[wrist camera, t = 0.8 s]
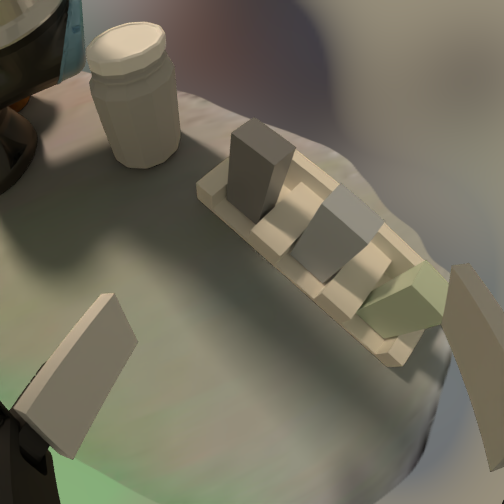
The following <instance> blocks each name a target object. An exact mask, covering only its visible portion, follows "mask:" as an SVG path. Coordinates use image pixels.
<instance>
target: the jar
mask: <svg viewBox="0 0 504 504" xmlns="http://www.w3.org/2000/svg"><path fill="white" fill-rule="evenodd" d="M165 48H166V37H165V32H164V31H163V29H162V28H161V26H160V25H156V24H152V23H149V22H133V23H126V24H123V25H120V26H116V27H113V28H111V29H108V30H107V31H105V32H103V33H102V34H100V35H98V36H97V37H95V38H94V39H93V40H92V42H91V43H90V44H89V45H88V47H87V48H86V49H85V51H86V57H87V61H88V64H89V67H90V71H91V73H92V78H91V80H90V82H89V84H90V90H91V95H92V98H93V100H94V103H95V106H96V109H97V112H98V114H99V117H100V120H101V122H102V125H103V128H104V130H105V133H106V136H107V138H108V141H109V143H110V146H111V148H112V151H113V153H114V156H115V158H116V160H118V161H119V162H121V163H122V164H123V165H125V166H126V167H128V168H144V169H147V168H150V167H153V166H155V165H158V164H160V163H163V162H165V161H166V160H167V159H168V158H169V157H170V156H171V155H172V154H173V153H174V152H175V151H176V150H177V149H178V145H179V141H180V137H181V130H180V121H179V111H178V101H177V90H176V79H175V67H174V65H173V63H172V61H171V60H170V58H169V56H168V55H167V53H166V51H165Z"/></svg>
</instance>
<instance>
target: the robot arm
mask: <svg viewBox="0 0 504 504" xmlns="http://www.w3.org/2000/svg"><path fill="white" fill-rule="evenodd" d="M85 63H86V53H85V39H84V26H83V14H82V2H81V0H0V194H2V193H3V192H5V191H6V190H7V189H9V188H10V187H11V186H12V185H13V184H14V183H15V182H16V181H17V180H18V179H19V178H20V177H21V175H22V174H23V173H24V172H25V170H26V169H27V167H28V166H29V164H30V162H31V160H32V158H33V156H34V154H35V151H36V147H37V134H36V131H35V130H34V128H33V126H32V125H31V123H30V122H29V121H28V120H27V119H26V118H24V117H23V116H22V115H20V114H19V113H17V112H16V111H14V110H13V109H12V108H10V107H9V106H10V105H12V104H14V103H16V102H18V101H20V100H22V99H24V98H26V97H29V96H31V95H33V94H35V93H37V92H40V91H42V90H44V89H47V88H49V87H52V86H54V85H56V84H60V83H61V82H62V81H64V80H66V79H68V78H70V77H73V76H75V75H77V74H78V73H80V72H81V71H82V70H83V68H84V66H85ZM441 326H442V328H443V331H444V333H445V335H446V338H447V340H448V342H449V345H450V347H451V350H452V352H453V355H454V357H455V360H456V362H457V365H458V367H459V370H460V373H461V375H462V378H463V381H464V383H465V386H466V389H467V392H468V395H469V398H470V400H471V404H472V407H473V410H474V413H475V416H476V420H477V423H478V426H479V430H480V433H481V436H482V440H483V444H484V448H485V452H486V456H487V460H488V464H489V468H490V472H492V471H494V470H497V469H499V468H502V467H504V312H503V310H502V309H501V307H500V306H499V304H498V303H497V301H496V300H495V298H494V297H493V295H492V294H491V292H490V291H489V290H488V288H487V287H486V285H485V284H484V283H483V281H482V280H481V279H480V277H479V276H478V274H477V273H476V272H475V270H474V269H473V268H472V266H471V265H470V264H469V263H467V264H460V265H452V267H451V273H450V280H449V286H448V292H447V298H446V303H445V308H444V313H443V318H442V323H441ZM137 343H138V340H137V338H136V336H135V334H134V332H133V330H132V328H131V326H130V324H129V322H128V320H127V318H126V316H125V314H124V312H123V310H122V308H121V306H120V304H119V301H118V299H117V297H116V295H115V293H107V294H101V295H100V296H99V297H98V298H97V300H96V301H95V302H94V303H93V304H92V305H91V307H90V308H89V309H88V310H87V311H86V313H85V314H84V315H83V316H82V317H81V319H80V320H79V321H78V322H77V324H76V325H75V326H74V327H73V329H72V330H71V331H70V332H69V334H68V335H67V336H66V337H65V339H64V340H63V341H62V342H61V344H60V345H59V346H58V347H57V349H56V350H55V351H54V353H53V354H52V355H51V357H50V358H49V359H48V360H47V361H46V362H45V363H44V364H43V365H42V366H41V367H40V369H39V370H38V371H37V373H36V376H34V377H33V378H32V380H31V383H29V384H28V385H27V386H26V388H25V389H24V391H23V392H22V394H21V395H20V396H19V398H18V399H17V401H16V402H15V404H14V405H13V406H12V408H11V409H10V410H8V409H7V408H6V407H5V406H4V405H3V404H2V402H1V401H0V504H60V499H59V494H58V489H57V484H56V478H55V473H54V466H53V460H52V455H51V453H50V452H49V450H48V448H49V446H51V447H52V448H53V449H54V450H55V451H56V452H58V453H59V454H60V455H63V456H65V457H67V458H70V459H72V460H73V459H74V457H75V455H76V453H77V451H78V449H79V447H80V445H81V444H82V442H83V440H84V438H85V436H86V434H87V432H88V430H89V428H90V427H91V425H92V423H93V421H94V419H95V417H96V415H97V414H98V412H99V410H100V408H101V406H102V405H103V403H104V401H105V399H106V397H107V396H108V394H109V392H110V390H111V388H112V387H113V385H114V383H115V381H116V380H117V378H118V376H119V374H120V373H121V371H122V369H123V367H124V366H125V364H126V362H127V360H128V359H129V357H130V355H131V354H132V352H133V350H134V349H135V347H136V345H137ZM502 504H504V500H503V502H502Z"/></svg>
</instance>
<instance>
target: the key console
mask: <svg viewBox="0 0 504 504" xmlns="http://www.w3.org/2000/svg"><path fill="white" fill-rule="evenodd" d="M228 169H229V157H228V158H226V159H225V160H224V161H222V162H221V163H220V164H219V165H217V166H216V167H215V168H214V169H212V170H211V171H210V172H209V173H207V174H206V175H205V176H204V177H202V178H201V179H200V180H199V181H198V182H196V189H197V199H199V200H200V201H201V202H202V203H203V204H204V205H205V206H207V207H208V208H209V209H210V210H211V211H212V212H213V213H214V214H216V215H217V216H218V217H219V218H220V219H221V220H222V221H223V222H225V223H226V224H227V225H228V226H229V227H230V228H231V229H233V230H234V231H235V232H236V233H237V234H238V235H239V236H240V237H242V238H243V239H244V240H245V241H246V242H247V243H248V244H249V245H251V246H252V247H253V248H254V249H255V250H256V251H257V252H258V253H260V254H261V255H262V256H263V257H264V258H265V259H266V260H268V261H269V262H270V263H271V264H272V265H273V266H274V267H275V268H277V269H278V270H279V271H280V272H281V273H282V274H283V275H284V276H286V277H287V278H288V279H289V280H290V281H291V282H292V283H293V284H295V285H296V286H297V287H298V288H299V289H300V290H301V291H302V292H304V293H305V294H306V295H307V296H308V297H309V298H310V299H311V300H313V301H314V302H315V303H316V304H317V305H318V306H319V307H320V308H321V309H323V310H324V311H325V312H326V313H327V314H328V315H329V316H330V317H332V318H333V319H334V320H335V321H336V322H337V323H338V324H339V325H341V326H342V327H343V328H344V329H345V330H346V331H347V332H348V333H350V334H351V335H352V336H353V337H354V338H355V339H356V340H357V341H358V342H360V343H361V344H362V345H363V346H364V347H365V348H366V349H367V350H369V351H370V352H371V353H372V354H373V355H374V356H375V357H376V358H377V359H379V360H380V361H381V362H382V363H383V364H384V365H385V366H386V367H400V366H403V365H404V364H405V362H406V361H407V359H408V357H409V356H410V354H411V353H412V351H413V349H414V348H415V346H416V344H417V343H418V341H419V339H420V338H421V336H422V334H423V332H424V331H425V329H422V330H418V331H414V332H410V333H406V334H402V335H398V336H393V337H389V338H383V337H382V336H380V335H379V334H378V333H377V332H376V331H375V330H374V329H373V328H372V327H371V326H370V325H368V324H367V323H366V322H365V321H364V320H363V319H362V318H361V317H360V316H359V315H357V314H356V312H357V310H358V309H359V308H360V306H361V305H362V304H363V302H364V301H365V299H366V298H367V297H368V295H369V294H370V292H371V291H372V290H374V289H376V288H378V287H380V286H381V285H383V284H385V283H387V282H389V281H390V280H392V279H394V278H396V277H397V276H399V275H401V274H403V273H404V272H406V271H408V270H409V269H411V268H413V267H415V266H416V265H418V264H420V263H421V262H423V261H424V260H423V259H422V258H421V257H420V256H419V255H418V254H417V253H416V252H415V251H414V250H413V249H412V248H410V247H409V246H408V245H407V244H406V243H405V242H404V241H403V240H402V239H401V238H400V237H399V236H398V235H397V234H396V233H395V232H394V231H392V230H391V229H390V228H389V227H388V226H387V225H386V224H385V223H383V225H382V226H381V228H380V229H379V230H378V232H377V233H376V235H375V236H374V237H373V239H372V240H371V241H370V243H369V244H368V245H367V246H366V247H365V248H364V249H363V250H361V251H360V252H359V253H358V254H357V255H356V256H354V257H353V258H352V259H351V260H350V261H349V262H347V263H346V264H345V265H344V266H343V267H342V268H340V269H339V270H338V271H337V272H336V273H334V274H333V275H332V276H331V277H330V278H328V279H327V280H326V281H325V282H324V283H322V282H321V281H320V280H318V279H317V278H316V277H315V276H314V275H313V274H312V273H311V272H309V271H308V270H307V269H306V268H305V267H304V266H303V265H302V264H300V263H299V262H298V261H297V260H296V259H295V258H294V257H292V256H291V255H290V253H291V252H292V250H293V248H294V247H295V245H296V244H297V242H298V241H299V239H300V237H301V236H302V234H303V233H304V231H305V229H306V228H307V226H308V224H309V223H310V221H311V220H312V218H313V216H314V215H315V213H316V212H317V210H318V208H319V207H320V205H321V203H322V202H323V201H324V200H325V199H326V198H327V197H328V196H329V195H330V194H331V193H332V192H333V191H334V190H335V189H336V187H337V186H338V185H339V183H337V182H336V181H335V180H334V179H333V178H331V177H330V176H329V175H328V174H326V173H325V172H324V171H323V170H321V169H320V168H319V167H318V166H316V165H315V164H314V163H313V162H311V161H310V160H309V159H307V158H306V157H305V156H304V155H302V154H301V153H300V152H298V151H297V150H296V149H295V152H294V155H293V158H292V161H291V163H290V166H289V169H288V172H287V175H286V177H285V180H284V183H283V186H282V189H281V191H280V194H279V197H278V200H277V203H276V205H275V207H274V208H273V209H272V210H271V211H270V212H269V213H268V214H267V215H266V216H265V217H264V218H263V219H262V220H261V221H259V222H258V223H257V224H255V223H253V222H252V221H251V220H250V219H249V218H248V217H246V216H245V215H244V214H243V213H242V212H241V211H239V210H238V209H237V208H236V207H235V206H234V205H232V204H231V203H230V202H229V201H228V200H227V199H226V197H227V183H228Z"/></svg>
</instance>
